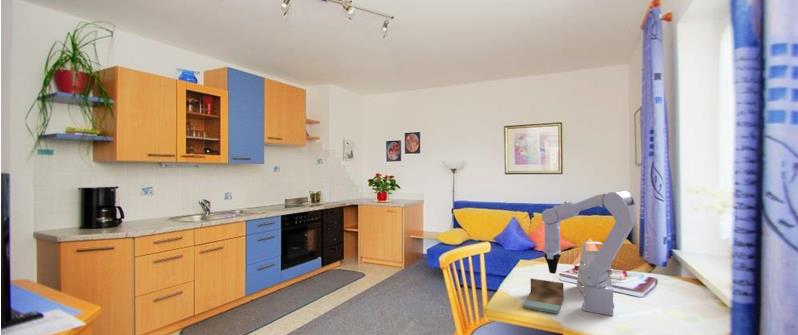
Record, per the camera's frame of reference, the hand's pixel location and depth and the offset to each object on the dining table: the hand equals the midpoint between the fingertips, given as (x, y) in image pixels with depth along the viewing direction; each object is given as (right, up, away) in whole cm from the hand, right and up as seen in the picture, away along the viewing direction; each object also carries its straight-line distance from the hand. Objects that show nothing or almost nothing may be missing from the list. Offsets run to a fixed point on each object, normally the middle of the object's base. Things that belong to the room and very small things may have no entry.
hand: (552, 272), depth 144 cm
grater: (+19, -9, +5) cm, 22 cm away
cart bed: (-5, -10, -5) cm, 12 cm away
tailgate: (-8, -8, -9) cm, 15 cm away
